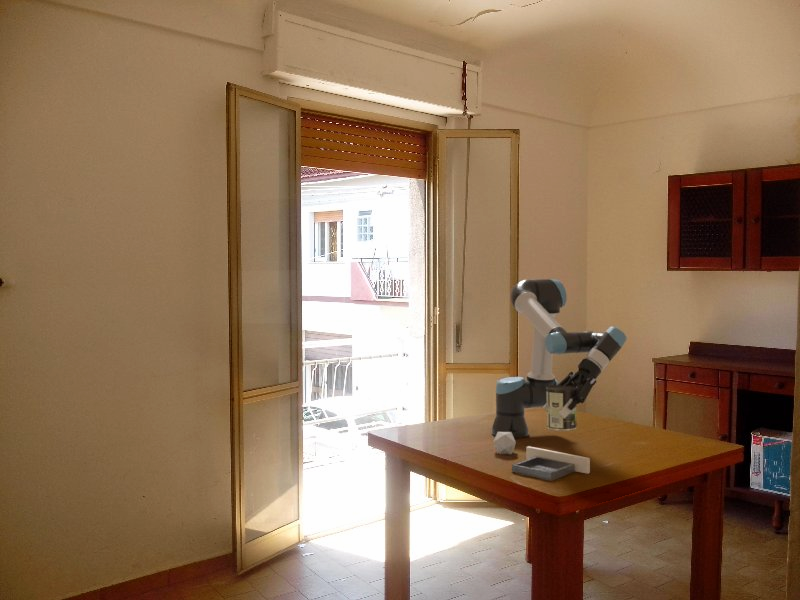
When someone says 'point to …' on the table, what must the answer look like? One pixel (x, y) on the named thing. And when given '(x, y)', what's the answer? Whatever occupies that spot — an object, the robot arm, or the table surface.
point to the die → (504, 442)
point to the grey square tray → (543, 468)
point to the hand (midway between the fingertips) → (553, 412)
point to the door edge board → (560, 458)
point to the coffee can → (560, 408)
